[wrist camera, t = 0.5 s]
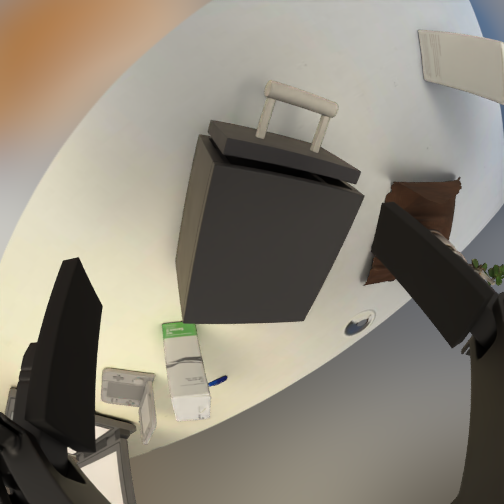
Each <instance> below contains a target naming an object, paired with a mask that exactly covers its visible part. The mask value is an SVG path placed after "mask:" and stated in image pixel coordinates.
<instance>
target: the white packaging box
mask: <svg viewBox="0 0 504 504" xmlns="http://www.w3.org/2000/svg"><path fill="white" fill-rule="evenodd" d="M418 33H419V40H420V47H421V56H422V65H423V75H424V80H425V81H428V82H433V83H437V84H440V85H444V86H448V87H452V88H455V89H459V90H462V91H465V92H469V93H472V94H475V95H478V96H481V97H484V98H486V99H489V100H492V101H495V102H497V103H500V104H502V105H504V43H503V42H501V41H497V40H492V39H488V38H483V37H477V36H471V35H465V34H458V33H450V32H440V31H428V30H418Z"/></svg>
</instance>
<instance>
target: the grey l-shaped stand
mask: <svg viewBox="0 0 504 504" xmlns="http://www.w3.org/2000/svg"><path fill="white" fill-rule="evenodd" d="M154 378H155V374H153V373H150V374H149V373H141V372H133V371H126V370H119V369H112V368H106V369H104V370H103V376H102V391H101V400H102V401H103V402H105V403H110V404H117V405H126V406H135V407H139V420H140V421H139V423H140V430H141V439H142V443H143V445H147V444H148V442H149V440H150V438H151V436H152V434H153V432H154V430H155V428H156V411H155V402H154V393H153V381H154Z"/></svg>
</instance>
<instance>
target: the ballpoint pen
mask: <svg viewBox="0 0 504 504" xmlns="http://www.w3.org/2000/svg"><path fill="white" fill-rule="evenodd" d="M225 380H227V376H224V377H221V378H219V379H217V380H215V381H212V382H210V383H208V387H210V386H215V384H216V385H218V384H220V383H222V382H224V381H225ZM221 381H222V382H221ZM217 383H218V384H217Z"/></svg>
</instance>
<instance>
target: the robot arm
mask: <svg viewBox="0 0 504 504" xmlns="http://www.w3.org/2000/svg"><path fill="white" fill-rule="evenodd" d="M371 252H372V253H373V254H374V255H375V256H376V257H377V258H378V259H379V260H380V261H381V262H382V264H383V265H384V266H385V267H386V268H387V269H388V270H389V271H390V273H391V274H392V275H393V276H394V277H395V278H396V279H397V281H398V282H399V283H400V284H401V285H402V286H403V287H404V289H405V290H406V291H407V292H408V293H409V295H410V296H411V297H412V298H413V299H414V300H415V302H416V303H417V304H418V305H419V306H420V308H421V309H422V310H423V312H424V313H425V314H426V315H427V316H428V317H429V319H430V320H431V322H432V323H433V324H434V325H435V327H436V328H437V329H438V330H439V332H440V333H441V334H442V336H443V337H444V338H445V340H446V341H447V342H448V343H449V345H450V346H451V348H453V347H455V346H456V345H458V344H459V343H461V342H462V341H463V340H464V339H465V337H466V336H467V335H468V333H469V332H471V334H472V336H471V338H470V339H469V340H468V342H467V343H466V345H465V346H464V347H463V349H462V351H461V354H464V352H465V351H466V350H467V348H468V347H470V349H469V350H468V351H467V353H466V355H470V358H471V412H470V426H469V437H468V446H467V454H466V460H465V467H464V472H463V477H462V482H461V487H460V491H459V494H458V496H457V497H456V499H454V500H453V502H452V503H451V504H504V292H502V293H500V294H498V293H497V292H495V291H494V289H493V288H492V287H491V286H490V285H489V284H488V283H487V282H486V281H485V280H484V279H483V278H482V277H481V276H480V275H479V274H478V273H477V272H475V271H474V269H473V268H472V267H471V266H470V265H468V263H467V262H466V261H465V260H464V259H463V258H462V257H461V256H459V255H458V254H456V253H454V252H453V251H452V250H451V249H450V248H449V247H448V246H446V245H445V244H444V243H443V242H442V241H441V240H440V239H439V238H438V237H436V236H435V235H434V234H433V233H432V232H431V231H429V230H428V229H427V228H426V227H425V226H424V225H422V224H421V223H420V222H419V221H418V220H416V219H415V218H414V217H413V216H411V215H410V214H409V213H408V212H406V211H405V210H404V209H403V208H401V207H400V206H399V205H398V204H396V203H395V202H387V203H382V205H381V210H380V215H379V219H378V224H377V228H376V233H375V237H374V241H373V245H372V249H371ZM102 307H103V306H102V304H101V302H100V300H99V298H98V297H97V295H96V293H95V291H94V289H93V287H92V285H91V283H90V280H89V278H88V276H87V274H86V272H85V270H84V268H83V265H82V263H81V261H80V259H79V257H77V258H73V259H68V260H64V261H63V262H62V265H61V267H60V270H59V273H58V276H57V278H56V281H55V284H54V287H53V290H52V293H51V296H50V299H49V302H48V305H47V309H46V312H45V316H44V319H43V323H42V326H41V330H40V334H39V338H38V342H36V343H30V345H29V347H28V348H27V350H26V352H25V354H24V356H23V360H22V365H21V371H20V375H19V382H18V385H17V391H16V397H15V404H14V412H13V419H12V420H11V419H10V418H8V417H7V416H6V415H4V414H3V413H1V412H0V504H111V503H110V502H109V501H108V500H107V499H106V498H105V496H104V495H103V494H102V493H101V492H100V491H99V490H98V489H97V488H96V487H95V486H94V484H93V483H92V482H91V481H90V480H89V479H88V477H87V476H86V475H85V474H84V473H83V471H82V470H81V469H80V468H79V466H78V465H77V464H76V463H75V461H74V460H73V459H72V458H71V457H70V456H69V455H68V447H69V448H70V449H72V450H74V451H76V452H86V453H96V440H95V383H96V365H97V351H98V340H99V331H100V322H101V314H102ZM5 486H6V487H8V488H9V489H10V493H11V494H10V495H9V494H8V493H7V490H6V488H5Z"/></svg>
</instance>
